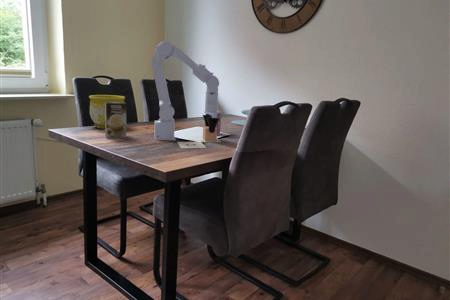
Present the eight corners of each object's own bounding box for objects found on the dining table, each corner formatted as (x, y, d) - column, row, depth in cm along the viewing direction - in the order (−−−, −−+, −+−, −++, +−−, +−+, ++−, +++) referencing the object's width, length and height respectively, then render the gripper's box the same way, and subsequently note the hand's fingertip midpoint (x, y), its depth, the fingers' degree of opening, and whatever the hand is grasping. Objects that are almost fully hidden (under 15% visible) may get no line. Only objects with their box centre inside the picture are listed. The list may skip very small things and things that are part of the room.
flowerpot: (131, 128, 183) (131, 97, 179) (99, 131, 170) (98, 98, 166) (115, 123, 195) (115, 94, 191) (84, 125, 182) (83, 95, 179)
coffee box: (106, 138, 155) (105, 102, 151) (104, 135, 161) (104, 101, 157) (126, 137, 159) (126, 103, 155) (125, 135, 164) (124, 101, 161)
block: (205, 141, 158) (205, 128, 157) (202, 138, 163) (203, 126, 162) (216, 141, 160) (217, 128, 158) (213, 138, 165) (214, 126, 164)
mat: (202, 143, 156) (202, 141, 156) (198, 139, 165) (198, 138, 165) (221, 142, 159) (221, 141, 159) (216, 139, 167) (216, 138, 167)
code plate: (180, 148, 142) (180, 147, 142) (177, 142, 154) (177, 141, 154) (206, 148, 145) (206, 147, 145) (201, 142, 157) (201, 141, 157)
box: (216, 136, 175) (217, 113, 172) (205, 135, 176) (206, 112, 173) (220, 132, 185) (221, 111, 182) (210, 132, 186) (211, 110, 183)
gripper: (223, 104, 152) (221, 134, 155) (216, 101, 165) (214, 128, 169) (208, 103, 150) (206, 133, 153) (201, 100, 164) (200, 128, 167)
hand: (209, 131), depth 161 cm, fingers open, 7 cm apart
